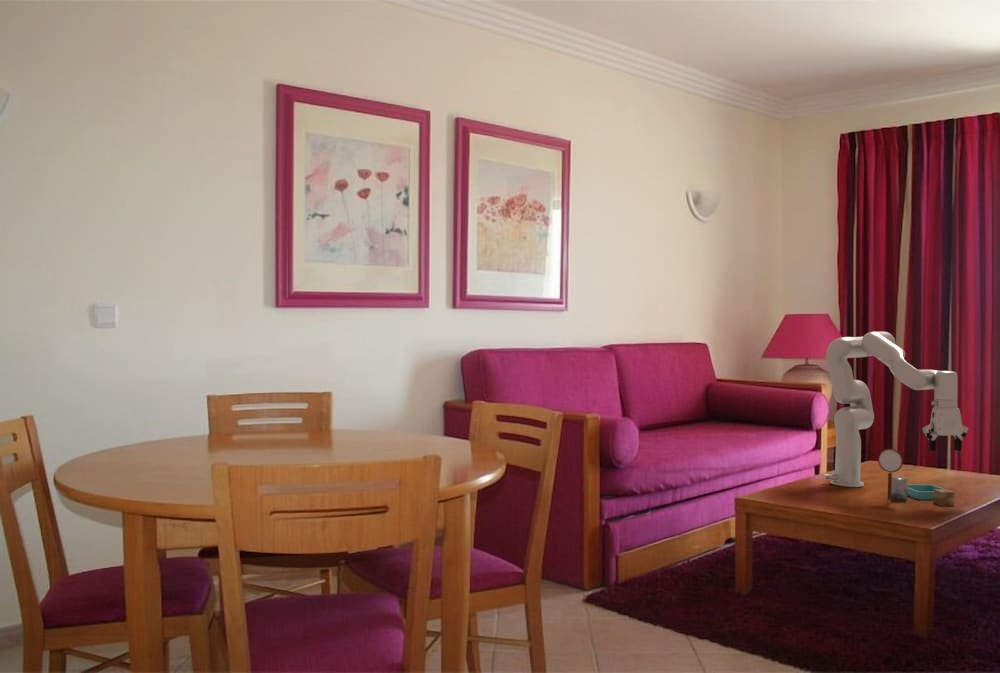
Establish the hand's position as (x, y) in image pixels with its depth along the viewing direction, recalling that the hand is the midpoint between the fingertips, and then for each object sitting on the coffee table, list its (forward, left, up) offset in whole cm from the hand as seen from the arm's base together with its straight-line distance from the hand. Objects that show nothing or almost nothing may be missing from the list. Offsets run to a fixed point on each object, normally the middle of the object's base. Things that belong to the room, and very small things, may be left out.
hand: (945, 450), depth 328 cm
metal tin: (-13, +7, -20) cm, 25 cm away
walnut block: (0, -1, -20) cm, 20 cm away
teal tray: (+1, +13, -20) cm, 24 cm away
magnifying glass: (-20, +1, -20) cm, 28 cm away
